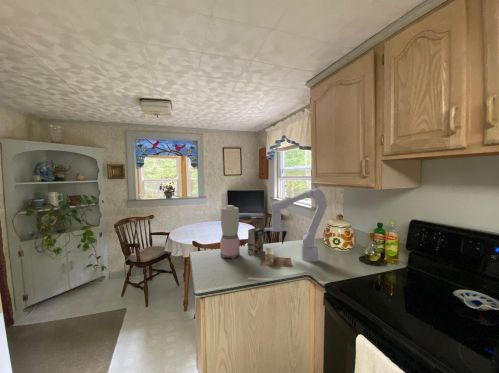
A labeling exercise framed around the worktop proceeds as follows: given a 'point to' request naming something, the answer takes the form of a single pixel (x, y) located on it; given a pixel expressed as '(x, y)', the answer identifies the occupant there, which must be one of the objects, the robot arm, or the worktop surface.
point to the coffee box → (255, 241)
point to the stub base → (277, 262)
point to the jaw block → (269, 256)
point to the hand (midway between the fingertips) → (276, 243)
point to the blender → (229, 232)
